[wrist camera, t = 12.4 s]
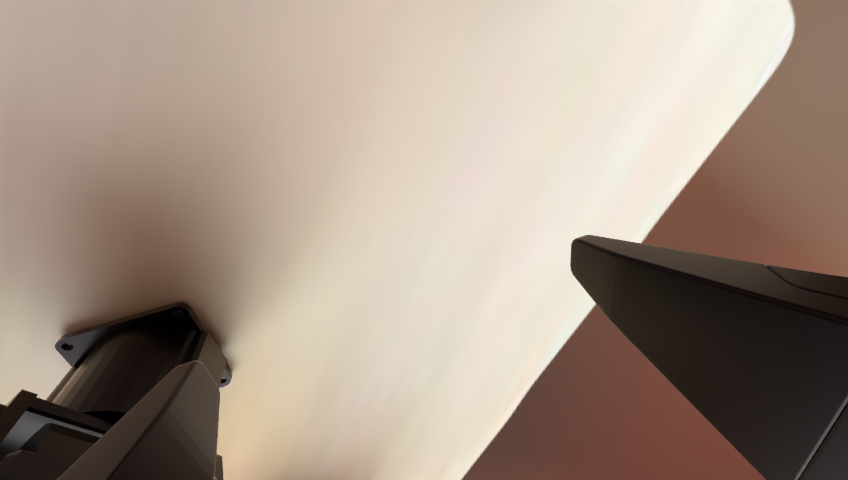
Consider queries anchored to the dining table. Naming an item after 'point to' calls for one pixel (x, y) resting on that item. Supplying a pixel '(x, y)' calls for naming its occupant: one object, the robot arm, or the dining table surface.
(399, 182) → the dining table surface
